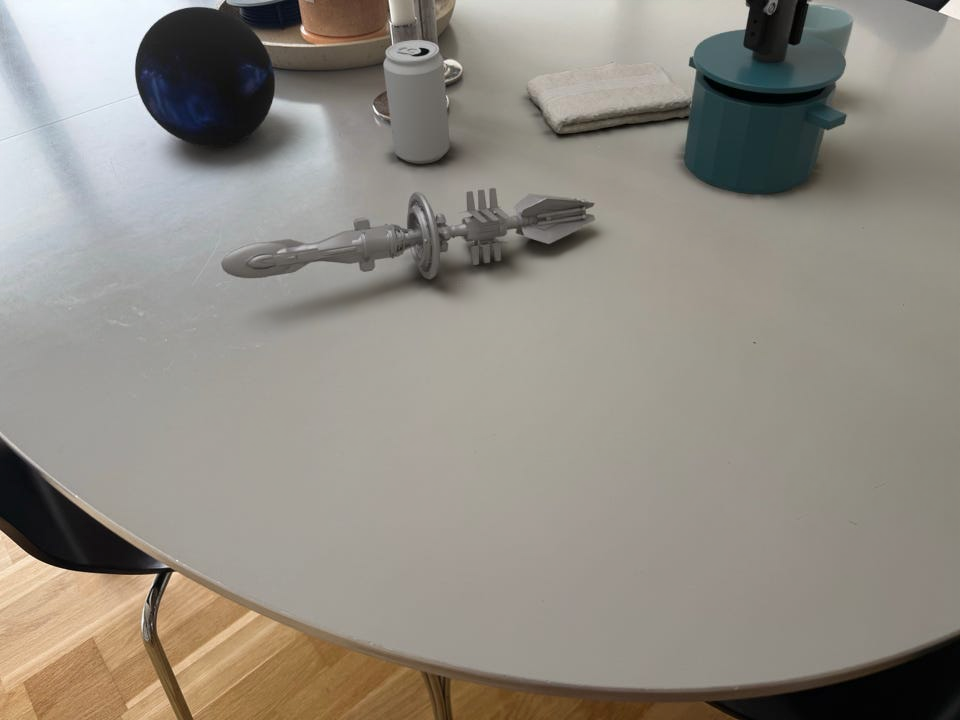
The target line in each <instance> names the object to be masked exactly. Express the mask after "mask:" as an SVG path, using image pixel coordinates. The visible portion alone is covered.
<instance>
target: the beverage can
mask: <svg viewBox="0 0 960 720" xmlns="http://www.w3.org/2000/svg"><path fill="white" fill-rule="evenodd" d="M439 47H440V46H439V45H437V44H436V43H434V42H432V41H429V40H424V39H423V40H422V39H414V40H413V39H412V40H411V39H410V40H404V41H400V42H396V43H394V44H392V45H390V46H388V47H387V48H386V50H385V59H384V61H383V64H382V65H383V74H384V82H385V88H386V89H385V90H386V97H387V104H388V105H387V106H388V113H389V114H388V115H389V121H390V128H391V129H390V130H391V137H392V145H393V151H394V154H395V155H396V156H397V157H398V158H400V159H402V160H403V161H404V162H408V163H411V164H417V165H423V164H430V163H434V162H436V161H439V160H440V159H442V158H443V157H444V155H446V154H447V152H449V150H450V145H451V142H450V131H449V130H450V129H449V116H448V115H449V114H448V104H447V101H448V100H447V88H446V77H445V76H446V75H445V62H444V58H443V56H442V54H441V53H440V48H439Z"/></svg>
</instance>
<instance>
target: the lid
mask: <svg viewBox="0 0 960 720" xmlns="http://www.w3.org/2000/svg"><path fill="white" fill-rule="evenodd" d="M797 2H798V0H778V3H777V7H776V10H775V11H774V12H777V13H779V19H778V24H777V29H776V34H775V39H774V44H773V48H772V52H771V54H769V55H766V56H764V55H761V54H759V53H757V52H754V51H752V50H750V49H747V48H745V47H744V45H743V42H744V36H745V30H746V28H744V29H735V30H729V31H724V32H720V33H716V34H713V35H712V36H711V35H710V36H708V37H707V38H705V39H703V40H702V41H700V42H699V43H698V44H697V46H696V47H695V48H694V51H693V61H694V64H695V66H696V68H697V69H698V70H699V71H700V72H701V73H702V74H704V75H705V76H707V77H708V78H710V79H712V80H714V81H716V82H719V83H721V84H724V85H727V86H730V87H733V88H737V89H742V90H747V91H753V92H761V93H778V94H783V93H800V92H807V91H812V90H817V89H820V88H823V87H826V86H829V85H831V84H833V83H834V82H838V81H839V80H840V79H841V78H842V77H843V75H844V74H845V71H846V67H847V59H846V57H844V55H843V54H842V53H841V52H840V51H839V50H838V49H837V48H835V47H834V46H832V45H831V44H829V43H827V42H825V41H822V40H820V39H818V38H815V37H812V36H808V35H805V34H802V37H801V42H800V43H799V44H798V45H795V46H793V45H791V44H789V39H790V34H791V30H792V25H793V20H794V16H795V11H796V7H797Z"/></svg>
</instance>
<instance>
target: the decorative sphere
mask: <svg viewBox="0 0 960 720" xmlns="http://www.w3.org/2000/svg"><path fill="white" fill-rule="evenodd" d="M134 74H135V75H134V77H135V84H136V88H137V91H138V94H139V97H140V100H141V101H142V104H143V105H144V107H145V110H147V112H148V113H149V115H150V116H151V118H153V120H154V121H155V122H156V123H157V124H158V125H159V126H160V127H161V128H162V129H163V130H165V131H166V132H167V133H168V134H170V135H172V136H174V137H175V138H177V139H179V140H182V141H183V142H186V143H189V144H192V145H195V146H201V147H224V146H228V145H231V144H235V143H238V142H240V141H242V140H244V139H246V138H247V137H248V136H250V135H252V133H254V132H255V131H256V130H257V129H258V128H259V127H260V126H261V125H262V124H263V122H264V121H265V119H266V117H267V116H268V114H269V112H270V110H271V107H272V105H273V101H274V97H275V89H276V77H275V70H274V67H273V62H272V59H271V57H270V55H269V52H268V50H267V48H266V46H265V44H264V43H263V41H262V40H261V39H260V38H259V36H258V35H257V33H256V32H255V31H254V30H253V29H252V28H251V27H249V26H248V25H247V24H246V23H245V22H243V20H240V19H239V18H237V17H236V16H234V15H233V14H230V13H228V12H227V11H223V10H221V9H216V8H213V7H206V6H205V7H204V6H189V7H184V8H179V9H176V10H173V11H171V12H169V13H167V14H165V15H163V16H162V17H160V18H159V19H158V20H157V21H155V22H154V23H153V24H152V25H151V26H150V27H149V28H148V30H147V32H145V34H144V35H143V37H142V39H141V41H140V42H139V46H138V49H137V52H136V55H135V63H134Z"/></svg>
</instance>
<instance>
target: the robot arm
mask: <svg viewBox="0 0 960 720" xmlns="http://www.w3.org/2000/svg"><path fill="white" fill-rule="evenodd" d="M812 1H813V0H798V2H797V7H796V11H795V16H794V20H793V25H792V30H791V34H790V39H789V44H791V45H793V46H795V45H798V44H799V43H800V42H801V37H802V33H803V28H804V24H805V20H806V15H807V11H808V6H809V5H810V3H812ZM777 3H778V0H745V6H746V7H747V8H748V14H747V20H746V24H745V25H746V26H745V29H746V30H745V36H744V42H743V45H744V47H745V48H747V49H750V50H752V51H754V52H757V53H759V54H761V55H764V56H766V55H769V54H771V52H772V48H773V44H774V39H775V34H776V29H777V24H778V19H779V13H777V12H774V11H775V10H776V7H777Z"/></svg>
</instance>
